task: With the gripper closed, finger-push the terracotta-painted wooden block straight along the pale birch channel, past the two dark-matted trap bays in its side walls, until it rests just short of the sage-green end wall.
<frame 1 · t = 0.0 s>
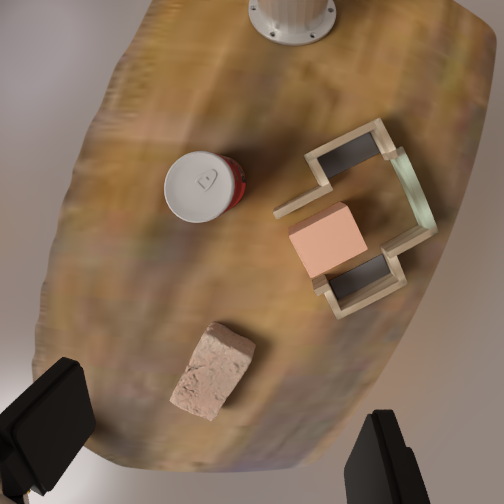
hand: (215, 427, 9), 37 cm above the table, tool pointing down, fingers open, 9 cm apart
canned food: (219, 183, 45), on the table
brick: (213, 366, 52), on the table
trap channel: (355, 217, 43), on the table
block: (323, 233, 45), on the table
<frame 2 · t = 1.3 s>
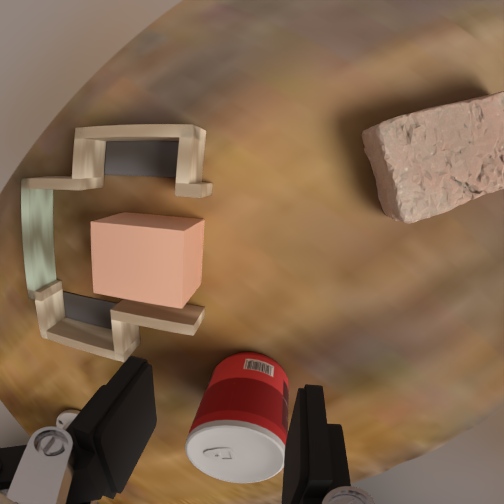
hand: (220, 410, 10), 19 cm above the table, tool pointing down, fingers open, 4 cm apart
canned food: (250, 379, 32), on the table
brick: (447, 152, 25), on the table
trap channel: (115, 241, 30), on the table
block: (161, 247, 30), on the table
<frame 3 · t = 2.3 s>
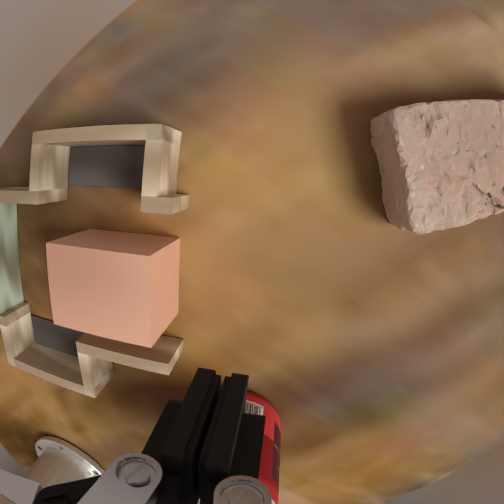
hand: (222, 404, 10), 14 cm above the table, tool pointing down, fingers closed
canned food: (237, 416, 27), on the table
brick: (466, 158, 21), on the table
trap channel: (81, 262, 25), on the table
block: (132, 269, 25), on the table
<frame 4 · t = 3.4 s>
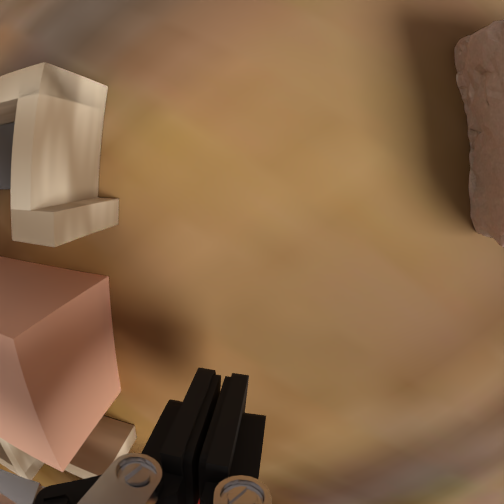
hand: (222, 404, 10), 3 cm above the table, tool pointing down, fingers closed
block: (49, 320, 14), on the table
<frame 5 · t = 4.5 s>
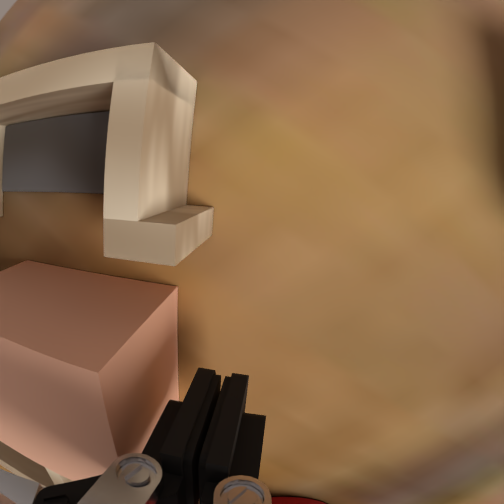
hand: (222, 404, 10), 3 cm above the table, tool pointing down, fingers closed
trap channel: (32, 319, 14), on the table
block: (96, 334, 13), on the table, touching gripper
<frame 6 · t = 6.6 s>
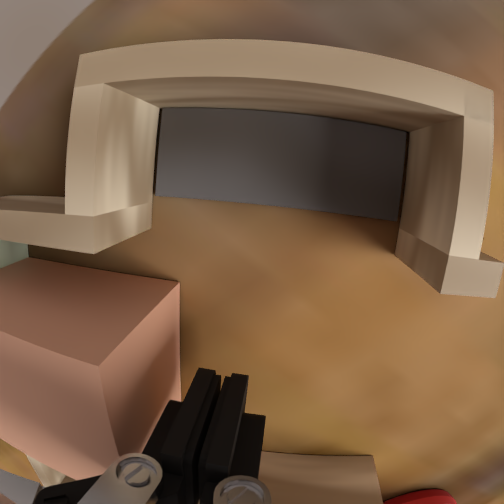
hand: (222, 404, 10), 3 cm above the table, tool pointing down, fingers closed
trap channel: (186, 356, 13), on the table
block: (97, 331, 13), on the table, touching gripper, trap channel
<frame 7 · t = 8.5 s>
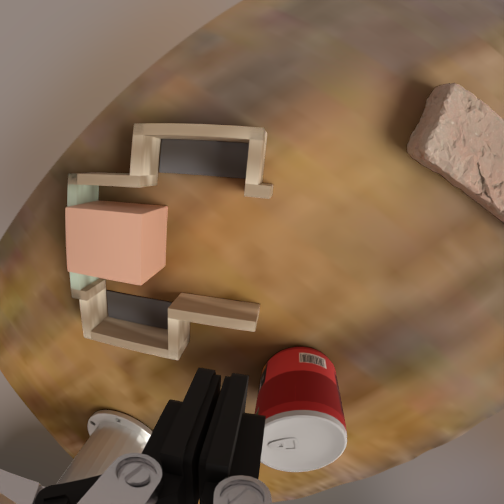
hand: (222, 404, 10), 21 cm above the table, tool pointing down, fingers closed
canned food: (298, 372, 33), on the table
brick: (478, 163, 26), on the table
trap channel: (168, 240, 31), on the table
block: (130, 232, 31), on the table
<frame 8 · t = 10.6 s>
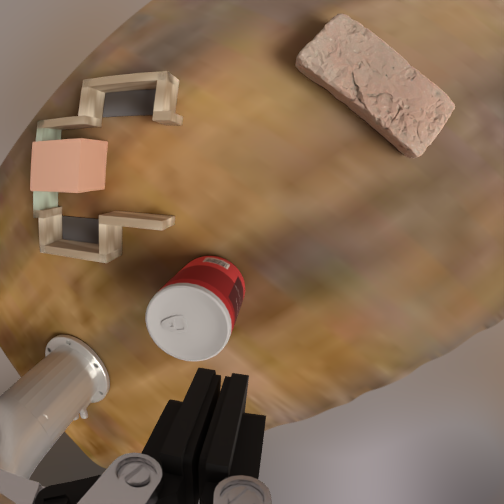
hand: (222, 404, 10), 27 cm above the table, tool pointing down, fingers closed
canned food: (213, 284, 39), on the table
brick: (370, 88, 31), on the table
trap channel: (107, 168, 36), on the table
block: (81, 165, 37), on the table
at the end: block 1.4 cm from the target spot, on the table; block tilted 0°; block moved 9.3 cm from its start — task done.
